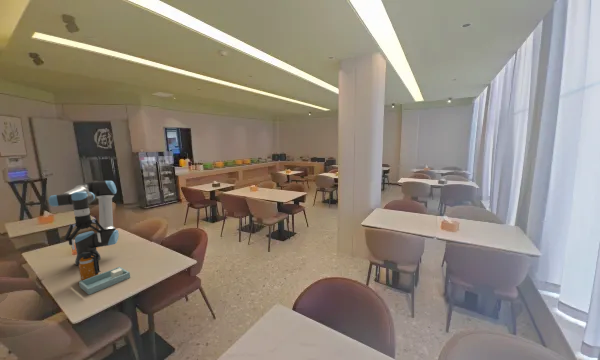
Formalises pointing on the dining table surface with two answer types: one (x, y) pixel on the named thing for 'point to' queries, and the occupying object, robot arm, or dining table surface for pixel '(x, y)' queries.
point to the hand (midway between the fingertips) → (87, 245)
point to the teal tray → (102, 281)
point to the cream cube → (116, 273)
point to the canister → (88, 265)
